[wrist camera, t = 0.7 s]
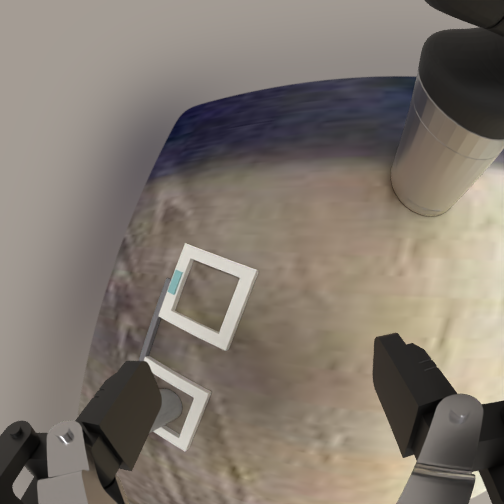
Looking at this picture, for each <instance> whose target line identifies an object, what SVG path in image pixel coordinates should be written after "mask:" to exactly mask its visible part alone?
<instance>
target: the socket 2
mask: <svg viewBox="0 0 504 504" xmlns="http://www.w3.org/2000/svg"><path fill="white" fill-rule="evenodd" d="M144 361H146V362H147V363H148V364H149V366H150V368H151V371H152V373H153V374H155V375H157V376H158V377H160V378H161V379H163V380H165V381H166V382H168V383H170V384H171V385H173V386H175V387H176V388H178V389H180V390H181V391H183V392H185V393H187V394H188V395H190V396H192V397H194V400H193V403H192V405H191V408H190V410H189V413H188V416H187V418H186V421H185V424H184V426H183V429H182V431H181V434H178V433H177V432H175V431H174V430H172V429H170V428H169V427H167V426H166V425H164V426H162V427H160V428H158V429H156V430H154V431H153V432H155V433H156V434H158V435H159V436H161V437H162V438H164V439H166V440H167V441H169V442H170V443H172V444H174V445H175V446H177V447H179V448H180V449H182V450H184V451H185V452H186V451H187V450H188V449H189V447H190V445H191V442H192V440H193V437H194V435H195V433H196V430H197V428H198V425H199V423H200V420H201V418H202V415H203V413H204V410H205V408H206V405H207V403H208V400H209V398H210V395H211V393H212V392H211V391H209V390H208V389H206V388H204V387H202V386H200V385H198V384H196V383H194V382H193V381H191V380H189V379H187V378H186V377H184V376H182V375H180V374H179V373H177V372H175V371H173V370H172V369H170V368H168V367H167V366H165V365H163V364H162V363H160V362H158V361H157V360H155V359H154V358H152V357H150V356H145V358H144Z"/></svg>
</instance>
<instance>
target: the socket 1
mask: <svg viewBox="0 0 504 504" xmlns="http://www.w3.org/2000/svg"><path fill="white" fill-rule="evenodd" d="M194 260H196V261H199V262H201V263H204V264H206V265H209V266H211V267H214V268H216V269H219V270H221V271H224V272H227V273H229V274H232V275H234V276H237V277H239V278H240V279H239V282H238V285H237V287H236V290H235V293H234V295H233V298H232V300H231V303H230V306H229V308H228V311H227V313H226V316H225V319H224V321H223V324H222V327H221V329H220V332H218V331H216V330H214V329H212V328H209V327H207V326H205V325H203V324H201V323H199V322H197V321H195V320H193V319H191V318H189V317H187V316H185V315H183V314H181V313H179V312H177V311H175V309H176V307H177V304H178V301H179V298H180V296H181V293H182V290H183V287H184V285H185V282H186V279H187V277H188V274H189V272H190V269H191V266H192V264H193V261H194ZM258 272H259V271H258V270H256V269H253V268H250V267H248V266H245V265H242V264H239V263H237V262H234V261H231V260H229V259H226V258H223V257H221V256H218V255H215V254H212V253H210V252H207V251H204V250H202V249H199V248H196V247H194V246H191V245H189V244H186V243H185V245H184V248H183V250H182V253H181V255H180V258H179V261H178V263H177V266H176V269H175V271H174V274H173V277H172V279H171V282H170V285H169V287H168V290H167V293H166V296H165V299H164V301H163V304H162V307H161V310H160V313H159V317H161V318H162V319H164V320H166V321H168V322H170V323H172V324H173V325H175V326H177V327H179V328H181V329H183V330H185V331H187V332H189V333H191V334H193V335H194V336H196V337H198V338H200V339H202V340H204V341H206V342H208V343H210V344H213V345H215V346H217V347H219V348H221V349H223V350H225V351H226V350H229V347H230V345H231V342H232V340H233V337H234V334H235V332H236V329H237V327H238V324H239V322H240V319H241V316H242V314H243V311H244V309H245V306H246V303H247V301H248V298H249V296H250V293H251V290H252V288H253V285H254V283H255V280H256V277H257V275H258Z"/></svg>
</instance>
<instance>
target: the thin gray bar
mask: <svg viewBox="0 0 504 504" xmlns="http://www.w3.org/2000/svg"><path fill="white" fill-rule="evenodd" d="M170 282H171V279H169V278H166V281H165V284H164V286H163V289H162V292H161V295H160V298H159V300H158V303H157V306H156V309H155V312H154V315H153V318H152V321H151V324H150V327H149V330H148V333H147V336H146V339H145V342H144V345H143V348H142V352H141V355H140V358H139V361H144V358H145V356H149V353H150V350H151V347H152V344H153V341H154V338H155V335H156V332H157V329H158V326H159V323H160V320H161V317H159V313H160V310H161V307H162V304H163V301H164V299H165V296H166V293H167V290H168V287H169V285H170Z"/></svg>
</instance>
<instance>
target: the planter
mask: <svg viewBox="0 0 504 504" xmlns="http://www.w3.org/2000/svg"><path fill="white" fill-rule="evenodd" d="M160 393H161V396H162V405H161V409H160V411H159V413H158V415H157V417H156V419H155V422H154V424H153V426H152V428H151V430H150V432H149V433H151V432H152V431H154V430H156V429H158V428H160V427H162V426H164V425H165V424H167V423H169V422H171V421H173V420H174V419H176V418H177V417H179V416H180V414H181V412H182V403H181V400H180V398H179V397H178V396H177V394H176V393H174V392H173V391H171V390H169V389H160Z"/></svg>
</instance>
